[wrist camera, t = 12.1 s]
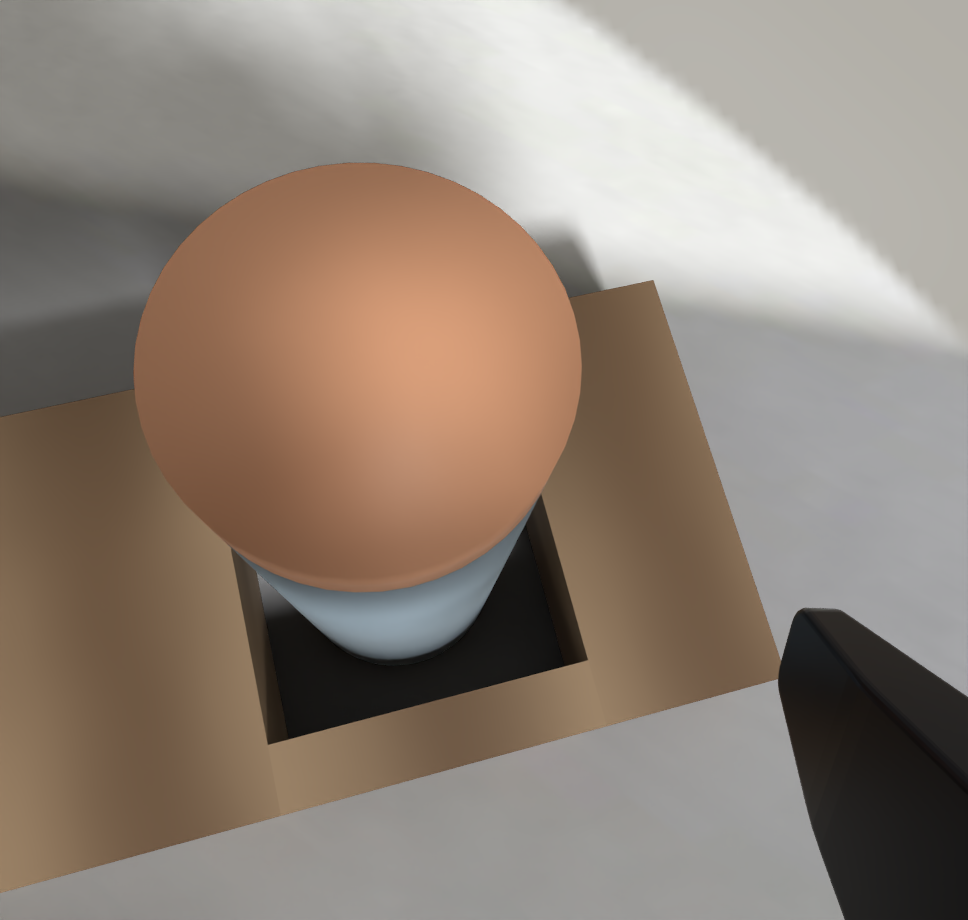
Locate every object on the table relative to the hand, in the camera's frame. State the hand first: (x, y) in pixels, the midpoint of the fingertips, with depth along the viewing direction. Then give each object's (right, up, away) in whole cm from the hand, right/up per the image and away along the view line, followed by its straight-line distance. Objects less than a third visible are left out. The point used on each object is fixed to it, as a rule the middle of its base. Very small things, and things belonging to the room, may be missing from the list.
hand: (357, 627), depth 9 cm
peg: (-1, -1, +12) cm, 12 cm away
